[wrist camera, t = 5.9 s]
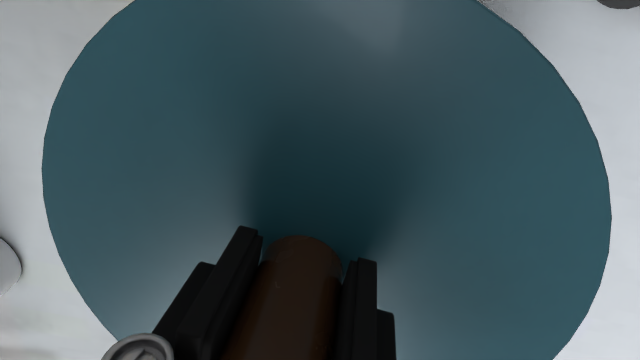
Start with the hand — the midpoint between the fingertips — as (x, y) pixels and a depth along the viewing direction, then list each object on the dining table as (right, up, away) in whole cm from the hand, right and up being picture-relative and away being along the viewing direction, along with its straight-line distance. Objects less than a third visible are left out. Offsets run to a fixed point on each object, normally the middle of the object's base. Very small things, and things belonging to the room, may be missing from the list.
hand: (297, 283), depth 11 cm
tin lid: (0, +1, +1) cm, 1 cm away
